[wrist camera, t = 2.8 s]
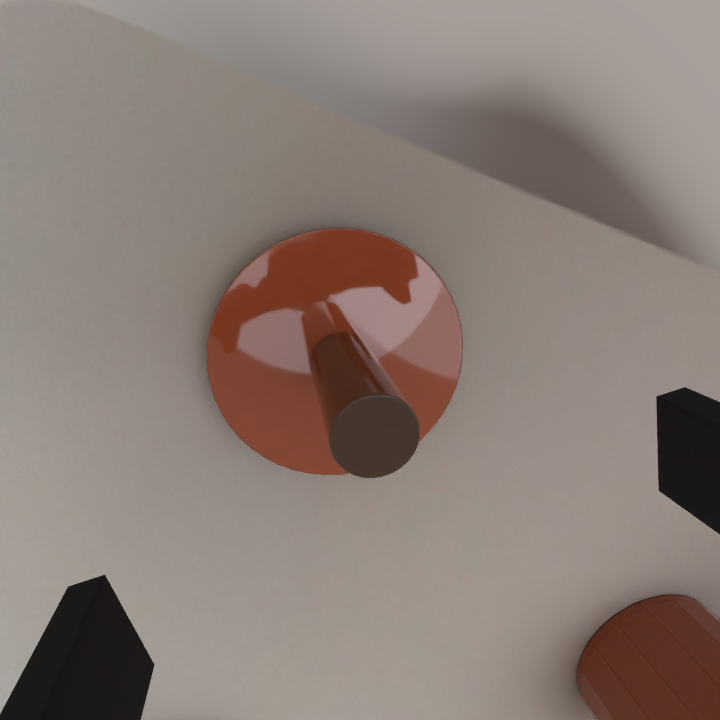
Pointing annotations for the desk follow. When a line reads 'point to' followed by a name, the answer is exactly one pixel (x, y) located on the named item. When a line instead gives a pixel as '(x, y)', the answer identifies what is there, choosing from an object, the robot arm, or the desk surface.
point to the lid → (335, 352)
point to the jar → (654, 663)
